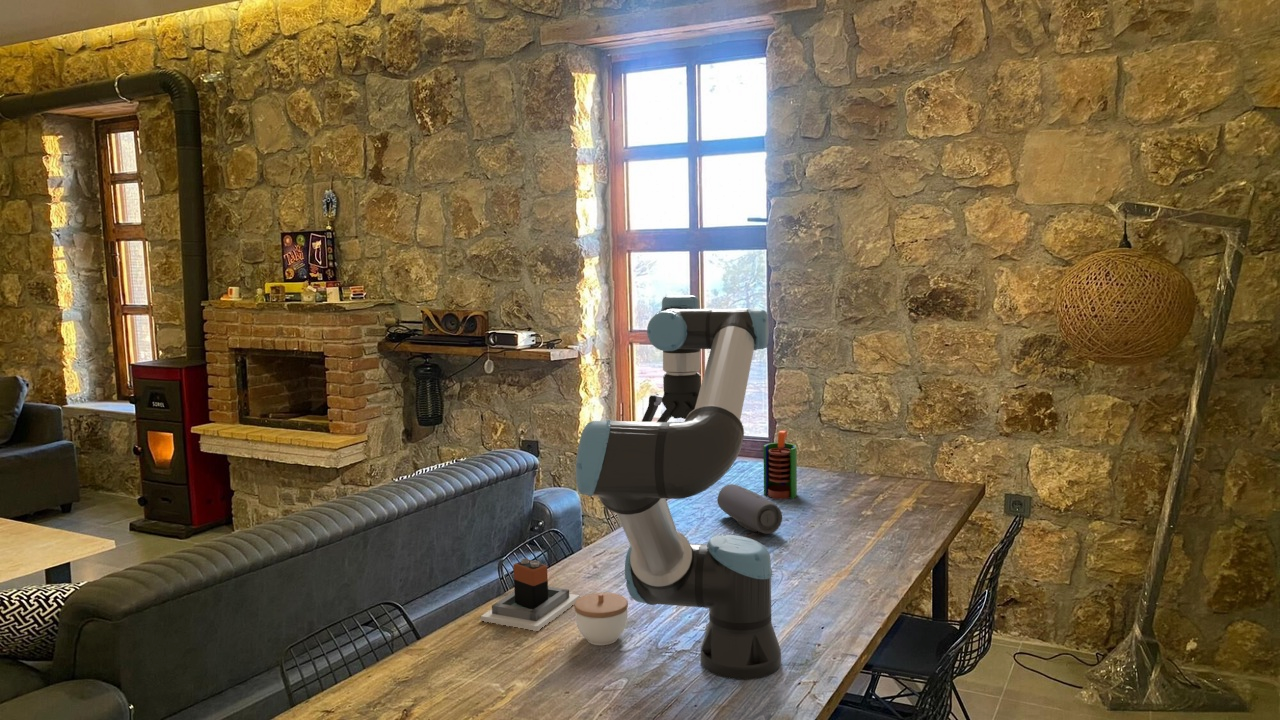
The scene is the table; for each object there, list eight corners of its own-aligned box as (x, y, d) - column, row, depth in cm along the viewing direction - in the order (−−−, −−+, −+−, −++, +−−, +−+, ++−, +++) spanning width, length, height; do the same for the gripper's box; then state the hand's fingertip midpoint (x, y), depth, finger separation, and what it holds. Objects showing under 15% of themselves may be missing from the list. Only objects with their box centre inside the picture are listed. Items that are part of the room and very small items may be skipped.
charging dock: (537, 631, 188) (536, 617, 188) (481, 621, 194) (480, 607, 194) (579, 600, 205) (579, 587, 204) (526, 591, 211) (526, 579, 210)
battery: (534, 611, 195) (532, 566, 194) (513, 603, 200) (512, 559, 199) (549, 605, 199) (548, 561, 197) (529, 598, 203) (527, 554, 202)
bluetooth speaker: (784, 535, 246) (784, 499, 245) (754, 540, 243) (753, 504, 242) (744, 513, 267) (744, 480, 266) (715, 517, 264) (715, 484, 263)
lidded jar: (600, 623, 192) (598, 580, 191) (639, 636, 185) (638, 592, 184) (564, 641, 184) (562, 596, 182) (604, 655, 177) (603, 609, 176)
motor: (762, 497, 283) (761, 434, 281) (766, 490, 292) (766, 428, 289) (795, 499, 280) (794, 435, 278) (798, 492, 289) (798, 429, 286)
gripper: (747, 372, 182) (747, 476, 185) (633, 367, 192) (636, 466, 195) (734, 377, 175) (735, 485, 178) (618, 372, 186) (620, 474, 188)
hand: (683, 475), depth 186 cm, fingers open, 13 cm apart
